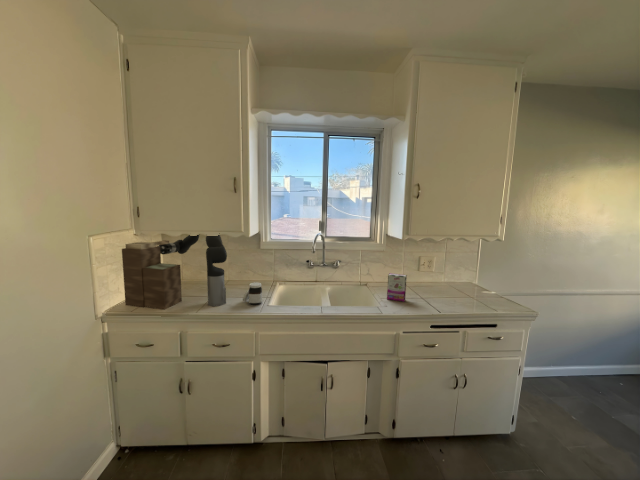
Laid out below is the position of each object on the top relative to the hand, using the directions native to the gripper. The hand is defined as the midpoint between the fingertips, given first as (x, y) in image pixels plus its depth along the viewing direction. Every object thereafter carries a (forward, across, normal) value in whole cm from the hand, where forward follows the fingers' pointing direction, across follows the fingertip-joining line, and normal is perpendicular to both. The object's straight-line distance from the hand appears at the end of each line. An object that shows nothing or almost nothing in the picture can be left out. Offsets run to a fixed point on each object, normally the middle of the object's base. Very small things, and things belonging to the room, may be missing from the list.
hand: (151, 250), depth 164 cm
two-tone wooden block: (+12, +12, +29) cm, 33 cm away
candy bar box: (-10, +155, +20) cm, 157 cm away
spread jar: (+5, +67, +25) cm, 72 cm away
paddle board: (+7, +5, -4) cm, 10 cm away
